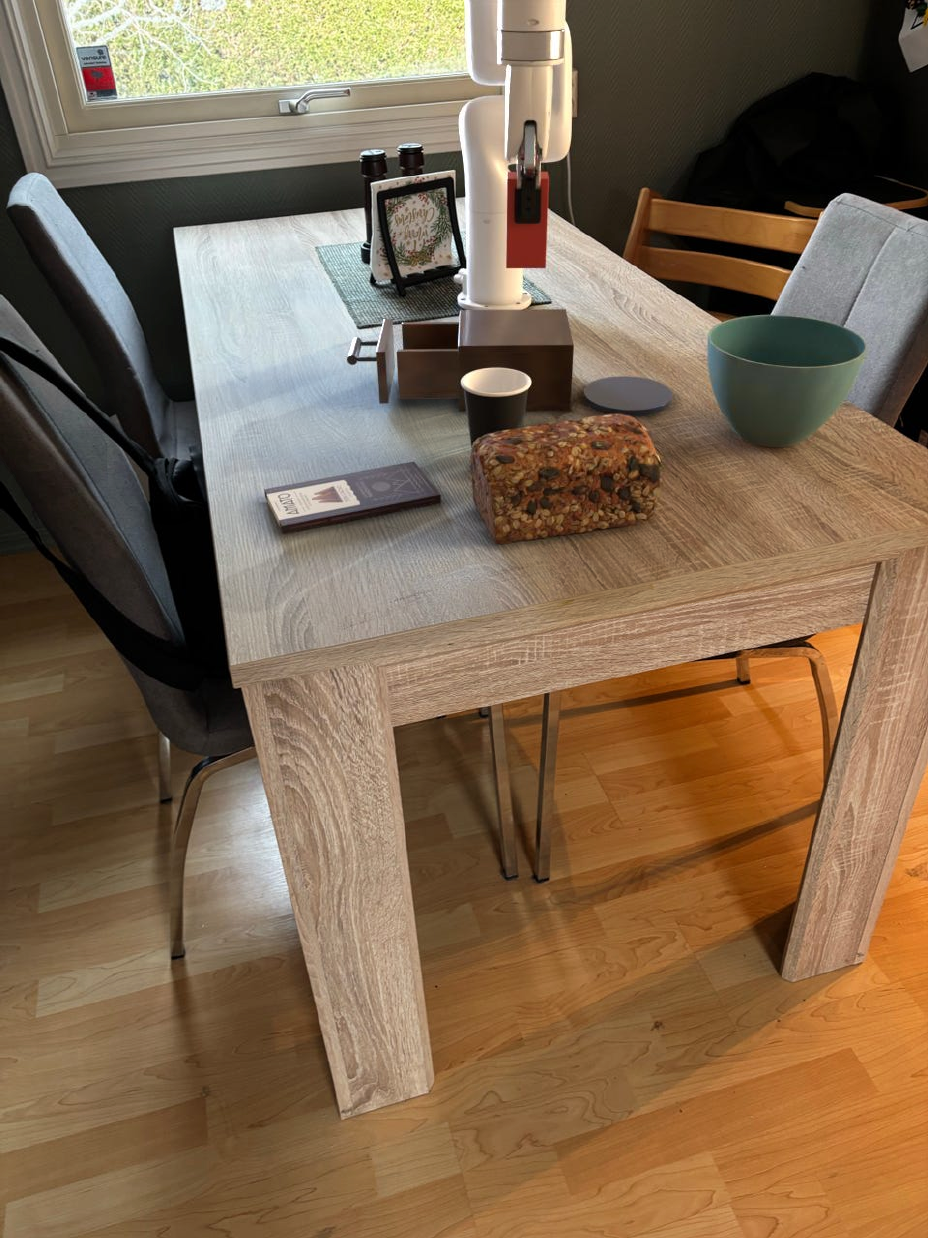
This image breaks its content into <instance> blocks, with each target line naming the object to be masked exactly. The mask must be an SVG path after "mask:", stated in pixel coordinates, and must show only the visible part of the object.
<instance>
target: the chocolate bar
mask: <svg viewBox="0 0 928 1238" xmlns="http://www.w3.org/2000/svg"><path fill="white" fill-rule="evenodd" d="M263 490H264V491H263V492H264V497H265V499H266V502H267V504H268V506H269V508H270V510H271V512H272V514H273V516H274V518H275V520H276V522H277V524H278V527H279V528H280V531H281V533H282V534H288V533H293V532H298V531H303V530H308V529H313V528H318V527H323V526H328V525H334V524H337V523H343V522H349V521H353V520H359V519H363V518H369V517H372V516H373V517H374V516H378V515H383V514H388V513H392V512H398V511H402V510H403V511H404V510H408V509H413V508H418V507H425V506H428V505H434V504H437V503H438V504H439V503H442V494H441V493H440V491H439V490H438V489H437V488H436V486H435V485H434V484H433V483H432V482H431V480H430V479H429V478H428V476H427V475H426V474H425V473H424V472H423V470H422V469H421V468H420V467H419V465H418V464H417V463H416V462H415V461H409V462H404V463H397V464H393V465H388V466H382V467H377V468H371V469H366V470H360V471H354V472H349V473H345V474H338V475H335V476H328V477H323V478H318V479H313V480H306V481H302V482H296V483H290V484H285V485H280V486H274V487H269V488H263Z"/></svg>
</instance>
